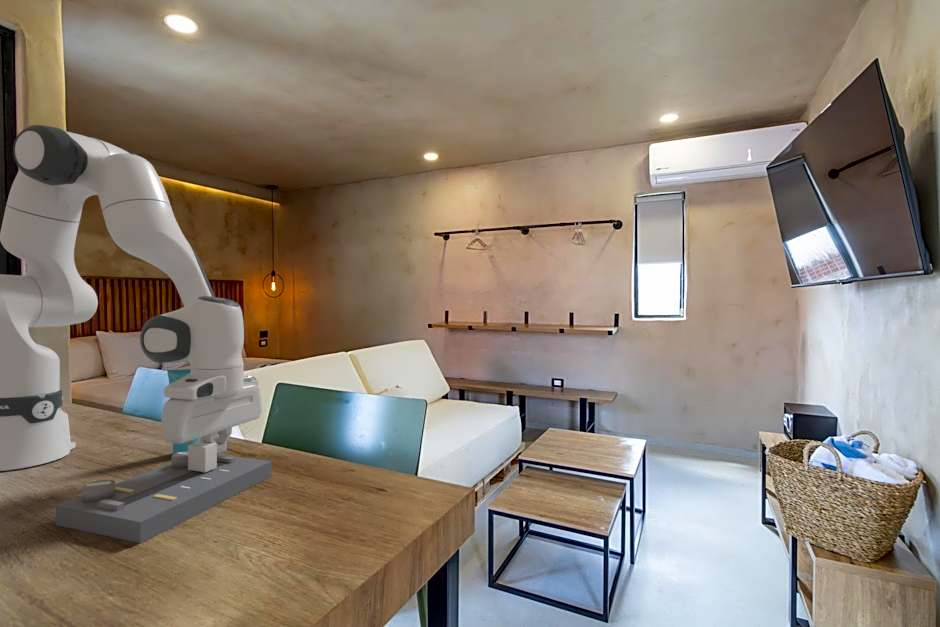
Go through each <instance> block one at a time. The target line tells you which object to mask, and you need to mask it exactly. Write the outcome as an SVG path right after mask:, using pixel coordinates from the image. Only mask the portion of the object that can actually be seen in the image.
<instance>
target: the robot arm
mask: <svg viewBox="0 0 940 627" xmlns="http://www.w3.org/2000/svg"><path fill="white" fill-rule="evenodd" d="M12 154H13V158H14V161H15V163H16V166H17V167H18V169H19V170H18V171H17V174H16V176H15V178H14V180H13V182H12V184H11V187H10V191H9V194H8V198H7V201H6V206H5V209H4V214H3V219H2V223H1V228H0V243H1V245H2V247H3V248H4V249H5V250H6V251H7V252H8V253H10V254H11V255H13V256H15V257H17V258H18V259H20V260H23V261H24V262H26V274H24V275H19V274H17V275H16V274H1V273H0V472H3V471H12V470H19V469H24V468H30V467H34V466H39V465H43V464H47V463H50V462H53V461H56V460H59V459H62V458H64V457H66V456H67V455H69V454H70V453H71V451H72V450H73V449H75V448H77V447H76V446H77V445H76V441H71V436H70V435H71V434H70V433H71V432H70V425H69V424H70V423H69V416H68V413H66V411H63V409H62V407H63V402H64V401H63V400H64V395H63V390H62V389H61V387H60V386H61V385H60V384H61V383H60V382H61V381H60V380H61V369H60V368H61V364H60V363H61V360H60V356H59V355H58V354H57V352H55V351H54V350H53V349H51V348H49V347H47V346H45V345H42V344H39V343H36V342H35V341H34V340H33V339H32V337H31V335H30V332H29V328H49V327H50V328H52V327H66V326H72V325H77V324H81V323H85V322H87V321H89V320H90V319H92V317H93V316H94V315H95V314H96V312H97V309H98V305H99V300H98V295H97V293H96V291H95V290H94V288H93V287H92V286H91V285H90V284H88V283H87V282H86V281H85V279H83V278H82V277H81V275H80V273H79V272H78V268H77V267H76V263H75V246H76V241H77V240H76V239H77V235H78V231H79V226H80V221H81V217H82V214H83V213H82V212H83V206H84V204H85V202H86V200H87V199H88V198H90V197H91V196H98V200H99V204H100V208H101V212H102V216H103V220H104V222H105V226H106V229H107V231H108V233H109V235H110V237H111V238H112V240H113V241H114V243H115V244H116V245H117V246H118V247H119V248H120V249H122V250H123V251H124V252H126V253H127V254H129V255H131V256H133V257H135V258H138V259H140V260H141V261H144V262H147V263H148V264H151V265H152V266H153V267H155V268H158V269H159V270H160V271H162V272H163V273H165V275H166V276H168V277H169V279H171V281H172V282H173V284H174V286H175V288H176V290H177V292H178V294H179V298H180V300H181V302H182V304H183V307H181V308H179V309H177V310H173V311H170V312H166V313H162V314H159V315H154V316H152V317H150V318H149V319H148V320H147V321H146V322H145V323H144V324H143V326H142V328H141V330H140V335H139V344H140V347H141V350H142V352H143V355H145V357H146V358H148V359H149V360H150V361H152V362H154V363H156V364H165V365H168V364H169V365H172V364H179V363H190V369H191V373H189V374H187V375H185V376H184V377H182V378H180V379H179V380H177V381H175V382H173V383H171V384H168V385H166V386H165V387H164V389H163V396H164V397H165V398H167V400H166V401H165V403H164V404H163V408H162V411H161V424H160V426H161V428H160V433H161V439H163V441H164V442H166V443H168V444H172V445H173V444H182V443H185V442H188V441H191V440H194V439H197V438H200V439H201V440H202V442H208V443H217V454H222V453H224V452H226V451H227V449H228V448H227V447H228V446H227V445H228V444H227V443H228V442H229V439H230V438H231V437H230V436H231V435H232V434H233V433H232V432H233V428H234V427H236V426H240V425H242V424H246V423H249V422H252V421H255V420H258V419H260V417H261V415H262V412H263V411H262V410H263V408H262V405H263V403H262V396H261V390H260V388H259V381H258V379H257V378H256V377H255V376H253V375H246V376H245V375H244V370H245V369H244V367H245V366H244V364H245V363H244V360H243V359H244V358H243V355H242V351H243V347H244V344H245V326H244V324H245V323H244V316H243V315H244V314H243V310H242V308H241V305H240V304H239V303H238V302H236V301H235V300H232V299H228V298H225V297H216V295H215V292H214V290H213V288H212V285H211V283H210V281H209V279H208V277H207V274H206V271H205V269H204V266H203V265H202V263H201V260H200V259H199V257H198V254H197V253H196V251H195V250H194V248H193V247H192V245H191V244H190V243H189V241H188V239H186V236H185V235H184V233H183V231H182V230H181V228H180V226H179V224H178V221H177V220H176V219H177V218H176V217H175V214H174V212H173V208H172V206H171V203H170V199H169V196H168V194H167V192H166V189H165V186H164V185H163V182H162V180H161V179H160V176H159V175H158V173H157V171H156V168H155V167H154V166H153V164H152V163H151V162H150V161H148V160H147V159H146V158H144V157H142V156H139V155H138V154H136V153H134V152H133V151H130V150H129V149H126V148H121V147H118V146H116V145H114V144H112V143H109V142H106V141H105V140H104V141H103V140H101V139H100V138H95V137H88V136H86V135H83V134H80V133H75V132H71V131H65V130H64V129H62V128H60V127H56V126H50V125H44V124H43V125H41V124H34V125H29V126H27V127H25V128H23V129H22V130H21V131H20V132H19V133H18V135H17V136H16V138H15V139H14V142H13V147H12ZM218 434H219V435H218ZM216 438H217V440H216Z"/></svg>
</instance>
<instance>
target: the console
mask: <svg viewBox="0 0 940 627" xmlns="http://www.w3.org/2000/svg"><path fill="white" fill-rule="evenodd" d="M170 459H171V460H170V461H171V463H169V464H165V465H163V466H161V467H157V468H155V469H152V470H150V471H147V472H144V473H141V474H138V475H135V476H132V477H129V478H128V479H123V480H122V481H119V482H116V481H115V480H114V479H100V480H95V481H91V482H89V483H86V484H84V485H82V487H81V495H80V496H77V497H74V498H72V499H70V500H66V501H63V502H61V503H58V504H55V526H58V527H63V528H69V529H72V530H77V531H82V532H86V533H87V532H88V533H91V534H96V535H99V536H100V535H101V536H104V537H105V536H106V537H109V538H114V539H119V540H124V541H128V542H133V543H138V544H142V543H144V542H146V541H148V540H150V539H152V538H154V537H155V536H158V535H160V534H162V533H163V532H166V531H168V530H169V529H171V528H174V527H175V526H177V525H179V524H181V523H183V522H185V521H186V520H187V521H188V520H189V519H191V518H192V517H195V516H197V515H199V514H201V513H202V512H205V511H206V510H209V509H211V508H212V507H214V506H216V505H218V504H220V503H222V502H225V501H226V500H228V499H230V498H232V497H234V496H236V495H238V494H240V493H242V492H244V491H245V490H247V489H249V488H252V487H254V486H256V485H257V484H260V483H261V482H264V481H265V480H267V479H269V478H270V477H272V465H273V464H272V463H273V461H272V460H266V459H258V458H257V459H256V458H252V457H251V458H249V457H243V456H236V455H235V456H234V455H228V454H222V453H220V454H217V468H215V469H212V470H210V471H207V472H200V471H193V470H188V451H185V452H179V453H176V454H173V453H172V455H171V458H170Z"/></svg>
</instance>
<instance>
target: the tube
mask: <svg viewBox="0 0 940 627" xmlns="http://www.w3.org/2000/svg"><path fill="white" fill-rule="evenodd" d="M166 372H167V378H168V383H169V384H171V383H173V382H175V381H177V380H179V379H180V378H182V377H184V376H185V375H187V374H189V373H191V368H183V369H182V368H180V369H178V368H177V369H175V368H174V369H167V371H166ZM169 384H168V385H169ZM200 441H201V437H200V438H197V439H194V440H191V441H188V442H185V443H182V444H172V455H173V454H176V453H179V452H185V451H188V445H191V444H194V443H197V442H200Z"/></svg>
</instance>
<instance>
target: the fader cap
mask: <svg viewBox="0 0 940 627" xmlns="http://www.w3.org/2000/svg"><path fill="white" fill-rule="evenodd" d="M215 468H217V442H216V443H208V442H204V441H201V440H200V442H197V443H194V444H191V445H188V470H193V471H200V472H207V471H210V470H212V469H215Z"/></svg>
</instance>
